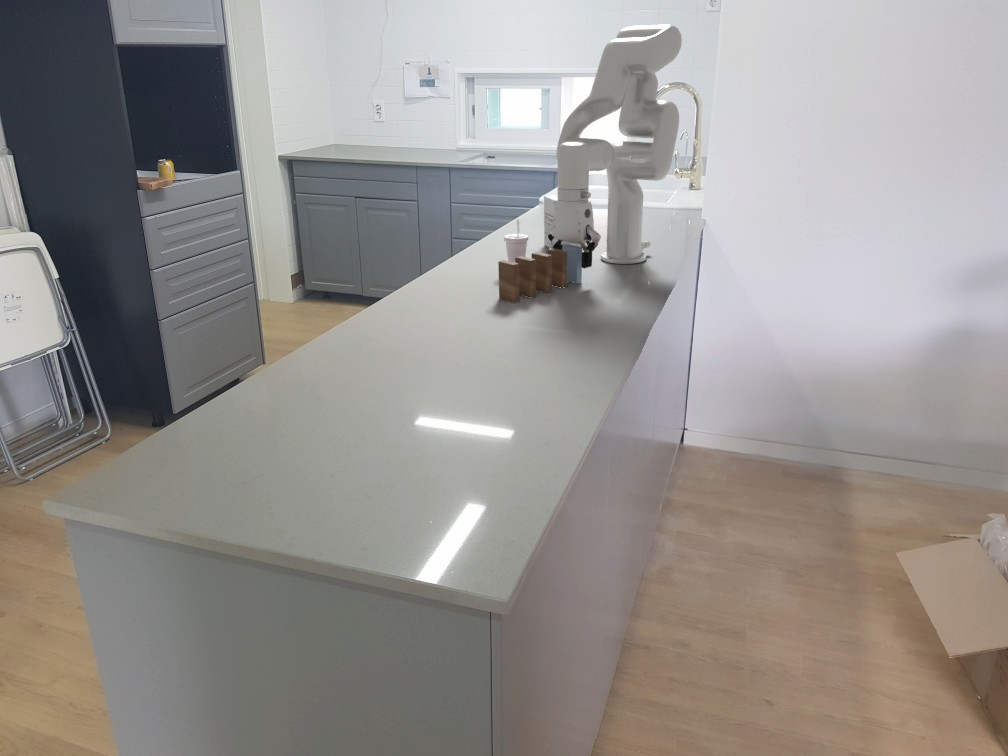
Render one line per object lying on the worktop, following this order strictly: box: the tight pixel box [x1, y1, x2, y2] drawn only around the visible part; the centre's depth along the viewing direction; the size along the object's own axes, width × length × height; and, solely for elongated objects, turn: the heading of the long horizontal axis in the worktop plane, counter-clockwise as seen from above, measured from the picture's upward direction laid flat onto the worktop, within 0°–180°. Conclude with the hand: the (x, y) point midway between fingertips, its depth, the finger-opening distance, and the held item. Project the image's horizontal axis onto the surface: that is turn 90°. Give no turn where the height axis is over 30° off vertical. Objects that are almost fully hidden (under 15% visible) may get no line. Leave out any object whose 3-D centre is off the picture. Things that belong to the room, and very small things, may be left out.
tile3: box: [531, 251, 553, 294], centre depth 190 cm, size 2×5×9 cm, turn 43°
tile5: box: [497, 259, 520, 304], centre depth 183 cm, size 2×5×9 cm, turn 43°
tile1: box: [562, 245, 583, 284], centre depth 197 cm, size 2×5×9 cm, turn 43°
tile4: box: [515, 256, 537, 298], centre depth 186 cm, size 2×5×9 cm, turn 43°
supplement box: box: [543, 194, 581, 249], centre depth 232 cm, size 9×9×15 cm
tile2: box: [546, 248, 568, 289], centre depth 193 cm, size 2×5×9 cm, turn 43°
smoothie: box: [503, 219, 529, 263], centre depth 205 cm, size 6×6×14 cm
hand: (572, 264), depth 197 cm, fingers open, 9 cm apart
